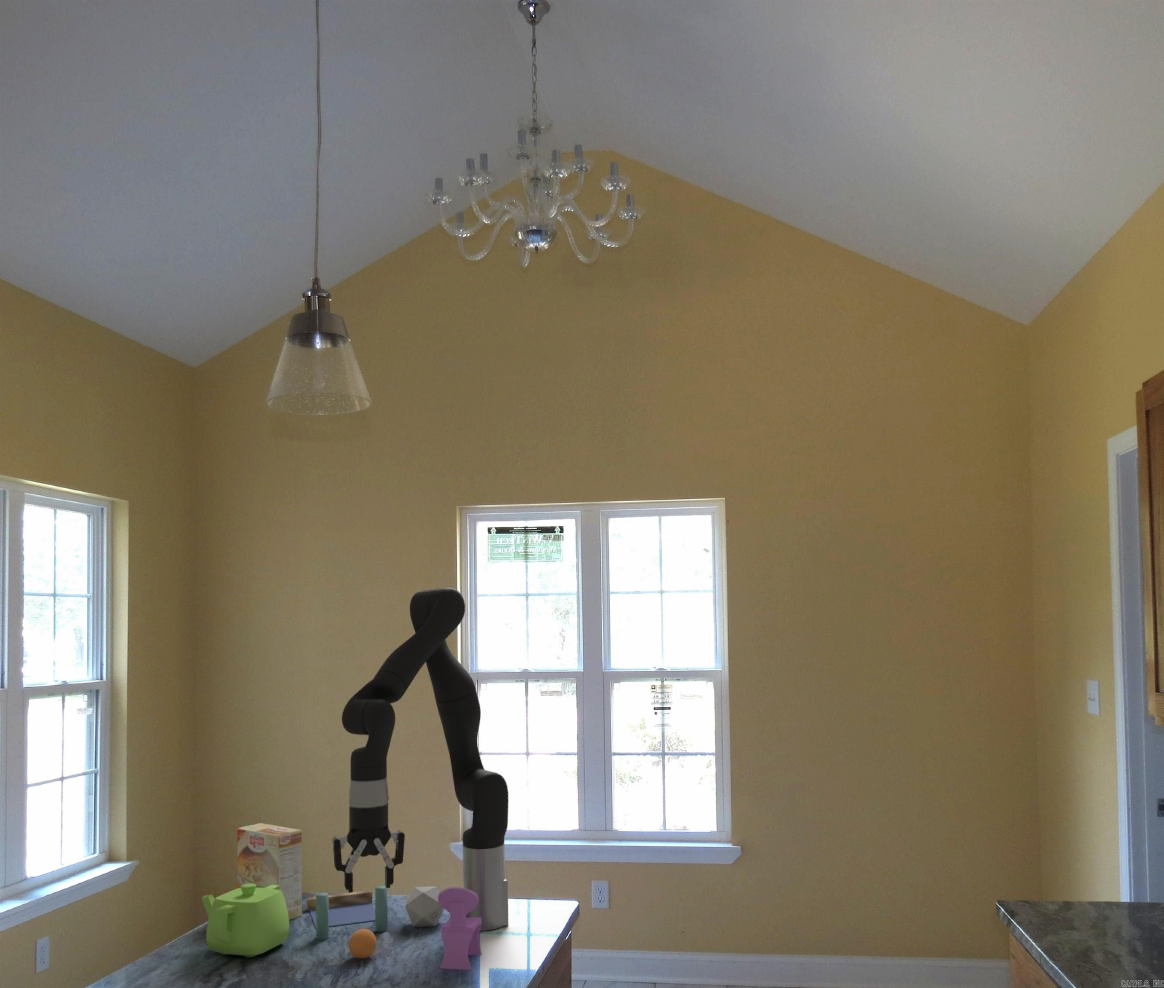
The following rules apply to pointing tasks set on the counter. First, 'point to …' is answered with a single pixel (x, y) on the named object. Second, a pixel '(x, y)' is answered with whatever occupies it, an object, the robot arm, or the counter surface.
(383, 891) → the post
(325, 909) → the post
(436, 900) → the die
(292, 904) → the coffeecake box
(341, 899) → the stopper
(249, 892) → the teapot
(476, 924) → the toy chair
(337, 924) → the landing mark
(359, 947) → the ball
